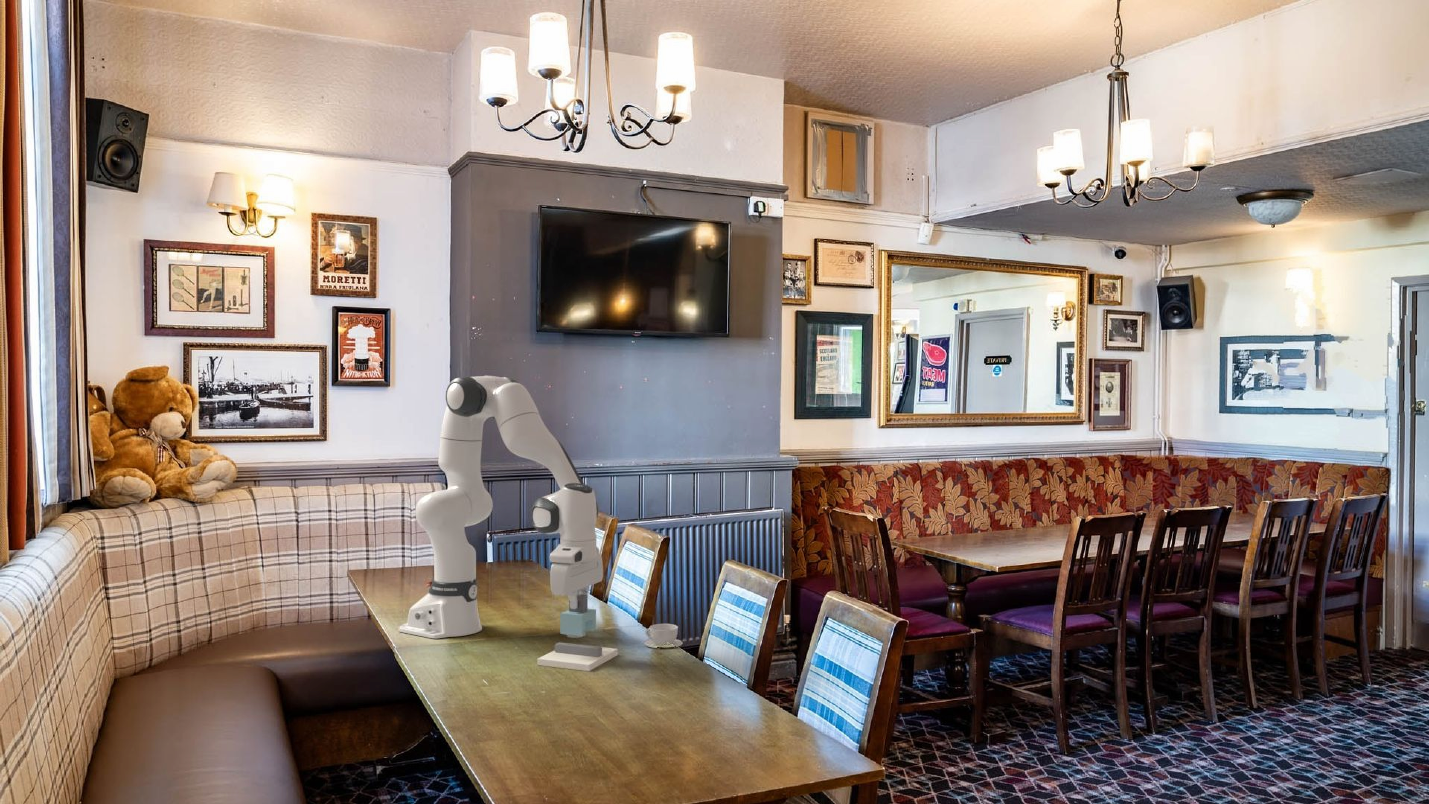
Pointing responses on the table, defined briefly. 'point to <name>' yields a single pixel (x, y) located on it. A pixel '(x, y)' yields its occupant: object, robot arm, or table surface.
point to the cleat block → (578, 618)
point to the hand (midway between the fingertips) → (578, 606)
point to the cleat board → (577, 656)
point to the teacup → (663, 635)
